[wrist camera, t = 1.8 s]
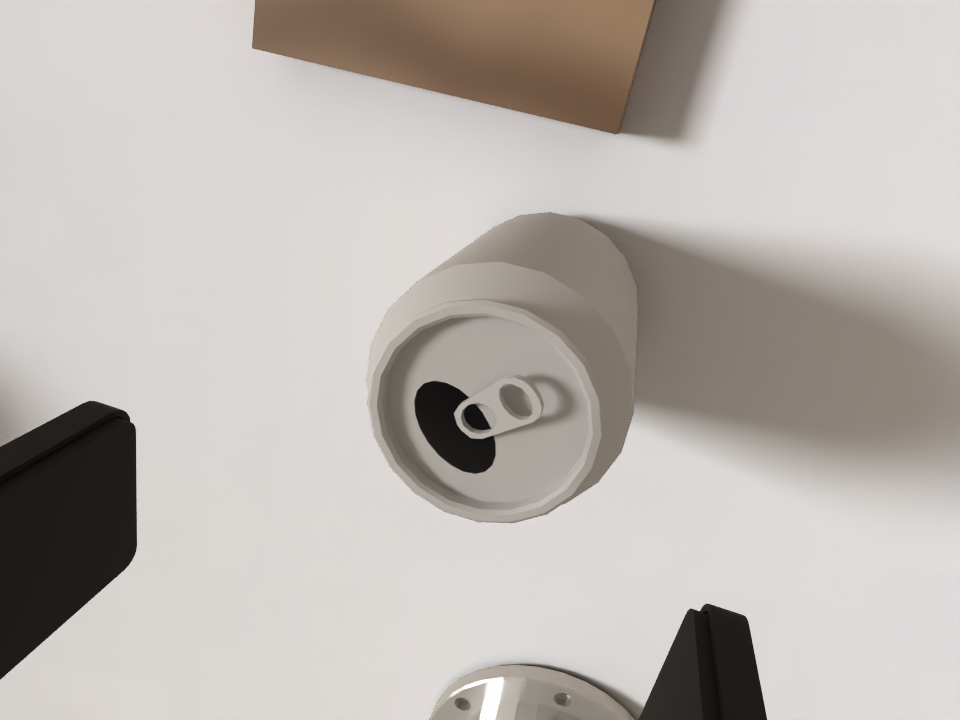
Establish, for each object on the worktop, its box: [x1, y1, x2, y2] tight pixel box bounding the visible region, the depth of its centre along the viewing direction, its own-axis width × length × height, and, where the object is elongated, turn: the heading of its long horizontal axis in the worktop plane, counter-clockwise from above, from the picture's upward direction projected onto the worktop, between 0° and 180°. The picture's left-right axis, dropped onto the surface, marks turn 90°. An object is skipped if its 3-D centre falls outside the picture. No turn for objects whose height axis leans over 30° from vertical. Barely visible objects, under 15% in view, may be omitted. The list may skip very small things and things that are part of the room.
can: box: [366, 212, 638, 523], centre depth 22 cm, size 8×8×12 cm
